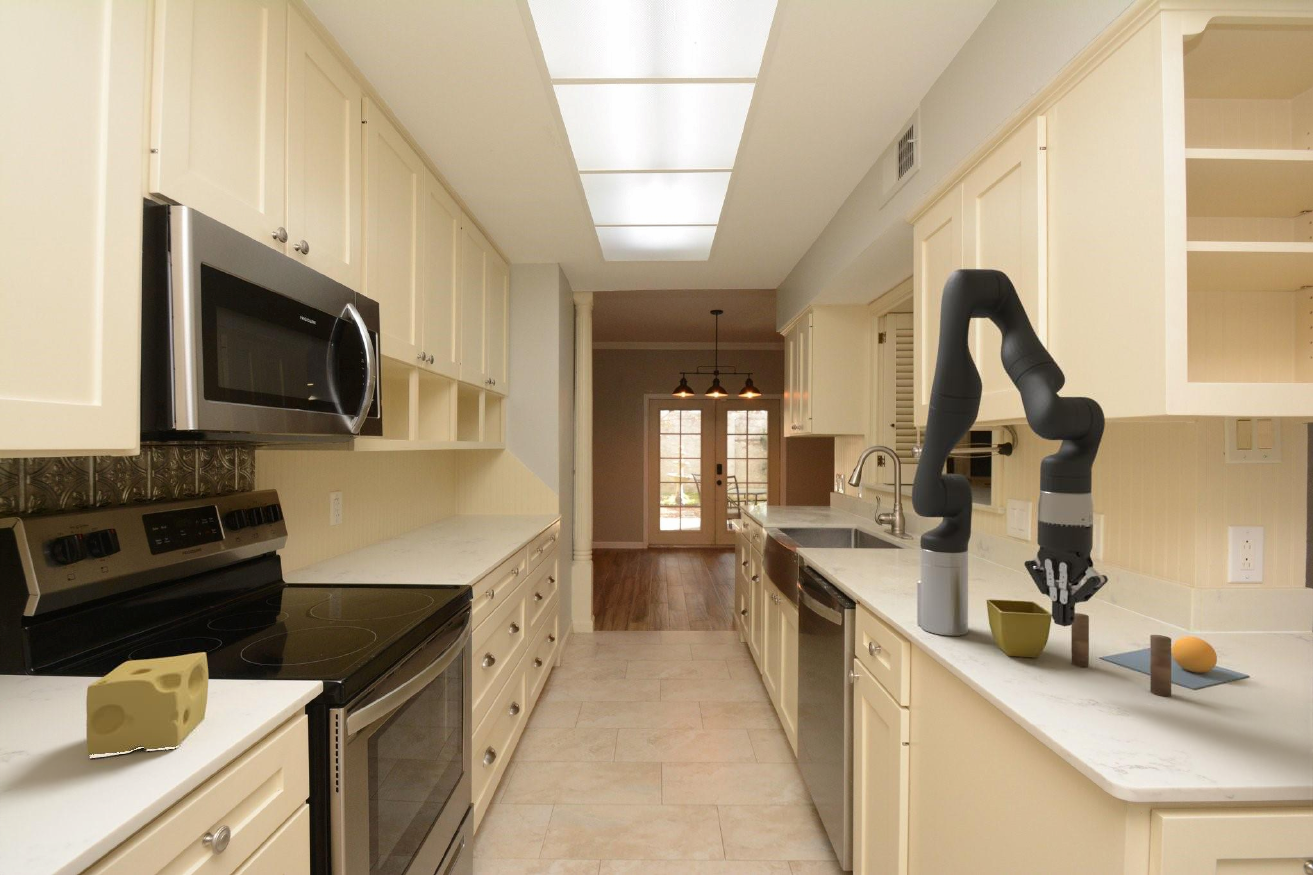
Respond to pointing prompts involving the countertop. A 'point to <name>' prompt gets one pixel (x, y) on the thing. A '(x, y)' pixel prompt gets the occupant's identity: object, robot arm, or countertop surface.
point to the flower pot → (1019, 626)
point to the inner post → (1080, 640)
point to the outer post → (1160, 665)
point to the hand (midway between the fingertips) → (1063, 624)
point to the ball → (1194, 654)
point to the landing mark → (1175, 670)
